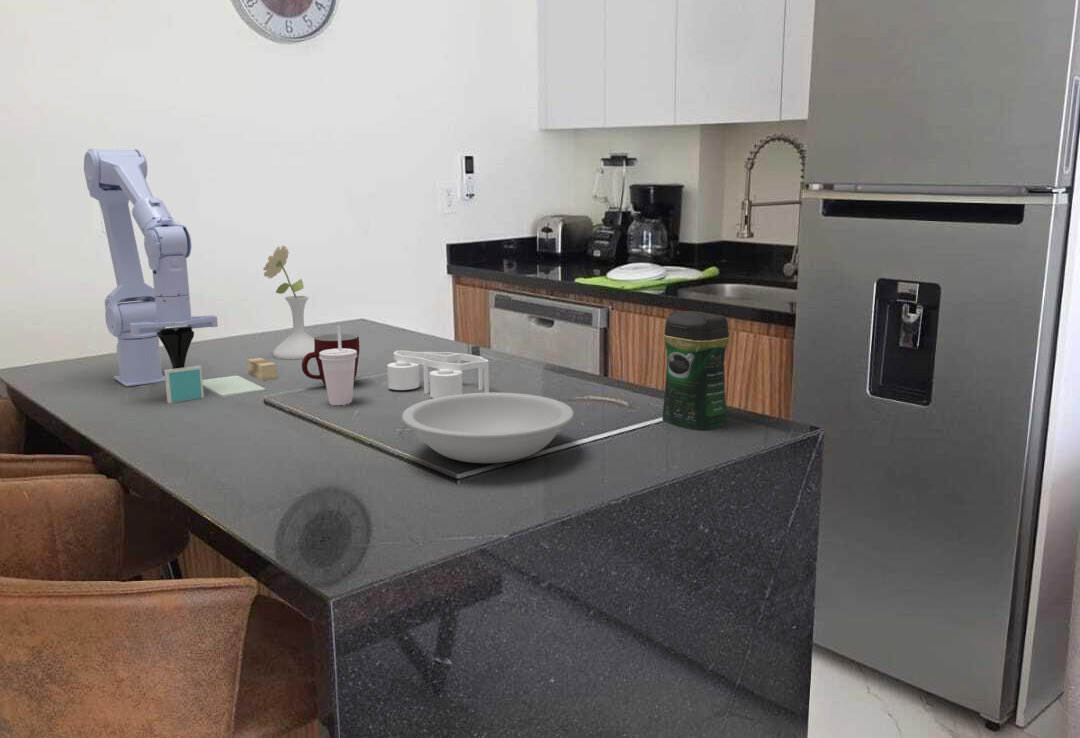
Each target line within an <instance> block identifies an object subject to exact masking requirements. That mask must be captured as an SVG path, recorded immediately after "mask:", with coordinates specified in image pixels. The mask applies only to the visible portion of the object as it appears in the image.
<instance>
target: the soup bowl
mask: <svg viewBox="0 0 1080 738" xmlns="http://www.w3.org/2000/svg"><path fill="white" fill-rule="evenodd" d="M574 413H575V412H574V410H573V408H572V407H571V406H569V405H568V404H567V403H564V402H562V401H560V400H557V399H554V398H550V397H547V396H540V395H535V394H534V395H533V394H528V393H517V392H489V393H485V392H472V393H471V392H470V393H469V392H468V393H462V394H458V395H450V396H443V397H438V398H430V399H429V398H428V399H427V400H423V401H420V402H417V403H415V404H412V405H411V406H409V407H408V408H406V409H405V410H404V411H403V412H402V415H401V418H402V421H403V423H404V424H405V425H407V426H408V427H409V428H411V429H413V430H415V431H416V433H417V434H418V436H419V437H420V439H421V440H422V441H423V442H424V443H425V444H426V445H427V446H429V448H430V449H432V450H433V451H435V452H436V453H438V454H440V455H441V456H444V457H445V458H448V459H452V460H456V461H460V462H465V463H471V464H500V463H509V462H513V461H517V460H518V461H519V460H521V459H525V458H527V457H530V456H532V455H534V454H537V453H538V452H539V451H541V450H544V448H545V447H547V446H548V445H549V444H550V443H551V442H552V441H553V439H554V438H555V437H556V436H557V434H558V433H559V431H560V430H561V428H562V427H563V426H565V425H567V424H569V423H570V422H571V421H572V420H573V418H574V415H575V414H574Z"/></svg>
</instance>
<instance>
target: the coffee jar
mask: <svg viewBox="0 0 1080 738" xmlns="http://www.w3.org/2000/svg"><path fill="white" fill-rule="evenodd" d="M665 320H666V321H665V326H664V332H663V333H664V335H663V337H664V344H665V348H666V372H665V385H664V386H665V389H664V397H663V407H662V408H663V409H662V421H663V422H664V423H666V424H669V425H671V426H675V427H678V428H682V429H686V430H690V431H699V432H700V431H710V430H714V429H717V428H722V427H723V426H725V425H727V405H726V404H727V403H726V390H725V389H726V388H725V385H726V384H725V358H726V350H727V347H728V343H729V341H730V338H729V336H730V334H729V324H728V323H729V321H728V319H727V318H726V317H725V316H724V315H721V314H713V313H708V312H703V311H695V310H694V311H693V310H685V311H683V310H682V311H677V312H676V311H674V312H670V313H669V314H668V316H667V317H666V319H665Z"/></svg>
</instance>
